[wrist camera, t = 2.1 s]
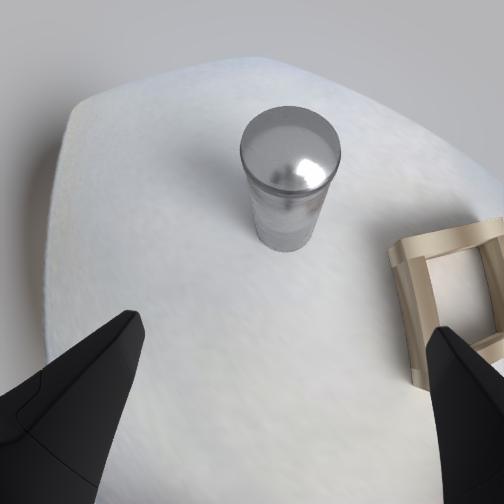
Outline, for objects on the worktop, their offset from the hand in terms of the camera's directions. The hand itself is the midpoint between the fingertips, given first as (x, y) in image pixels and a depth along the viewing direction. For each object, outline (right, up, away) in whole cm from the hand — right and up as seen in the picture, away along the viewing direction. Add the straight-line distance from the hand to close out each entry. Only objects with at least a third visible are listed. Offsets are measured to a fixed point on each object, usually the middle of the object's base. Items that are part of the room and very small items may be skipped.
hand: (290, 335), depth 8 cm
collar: (+16, -2, +12) cm, 20 cm away
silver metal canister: (+1, +4, +15) cm, 16 cm away
